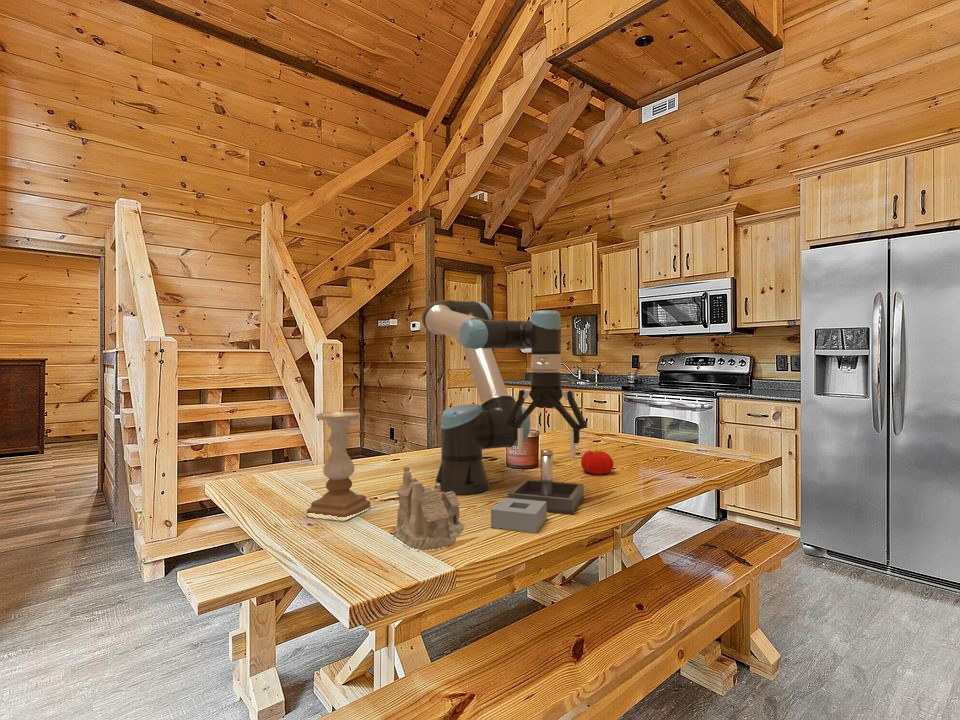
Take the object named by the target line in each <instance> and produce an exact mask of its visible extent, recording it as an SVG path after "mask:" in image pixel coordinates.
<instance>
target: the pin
mask: <svg viewBox="0 0 960 720" xmlns="http://www.w3.org/2000/svg"><path fill="white" fill-rule="evenodd" d="M553 452H554V451H553V449H550V448H548V449H547V448H546V449H543V448H542V449H541V450H540V480H541V496H550V497H553V482H554V479H553V477H554V475H553V473H554V472H553V471H554V470H553V469H554V467H553V466H554V465H553V462H554V461H553V459H554V458H553V454H554V453H553Z"/></svg>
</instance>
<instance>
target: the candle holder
mask: <svg viewBox="0 0 960 720" xmlns="http://www.w3.org/2000/svg"><path fill="white" fill-rule="evenodd" d="M315 416H316V419H317V420H320V421H325V422H326V425H327V426H328V427H329V429H330V436H329V437H328V439H327V443H329V446H330V448H331V452H330V454H329V456H328V458H327V460H326V461H325V463H324V465H323V469H322V471H323V475H324V476H325V477H326V478H327V479H328V480H327V481H326V484H325V488H326V490H327V492H326V493H324V494H323V495H322V496H321V497H319V498H318V499H316V500H313V501H312V502H311V506H310V507H309V508H307V509H306V514H307V513H315V514H323V515H331V516H337V517H347V516H350V515H353V514H356V513H359V512H361V511H363V510H365V509H367V508H369V507H370V508H371V501H370V500H368V499H367V496H366V495H363V494H357V493H355V492H354V491H353V490H351V488H352V486H353V481H352V480H351V479H350V477H351V476H352V475H353V474H354V472H355V464H354V462H353V460H352V459H351V457H350V456H349V454H348V452H347V446H348V445H349V442H350V440H351V439H350V437H349V436H348V435H347V428H348V426H350V423H351V420H356V419H359V418H360V417H361V413H360V412H357V411H330V412H322V413H317V414H316V415H315Z"/></svg>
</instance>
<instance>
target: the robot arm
mask: <svg viewBox="0 0 960 720" xmlns="http://www.w3.org/2000/svg"><path fill="white" fill-rule="evenodd" d="M421 322H422V323H421V324H422V325H423V327H424V329H425V330H426V331H427V332H429V333H431V334H433V335H437V336H447V337H451V338H453V339H455V340H456V342H457V344H459V345H460V346H463V347H462V348H463V351H464V353H465V356H466V359H467V363H468V366H469V369H470V371H471V375H472V378H473V381H474V384H475V388H476V391H477V394H478V397H479V401H480V403H481V404H478V403H470V404H461V405H455V406H451V407H447V408H446V409H445V410H443V411H442V414H441V419H440V437H441V438H440V439H441V441H440V442H441V443H440V445H441V447H440V448H441V450H440V451H441V453H440V454H441V461H440V465H439V468H438V471H437V475H436V477H435V484H436V483H440V485H441V486H440V489H441V492H445V493H447V492H451V491H453V492H454V493H455V494H456V496H457V495H462V496H463V495H464V496H465V495H474V494H479V493H484V492H485V491H488V489H489V488H490V487H489V486H490V484H489V483H490V482H489V477H488V474H487V472H486V468H485V465H484V462H483V450H490V449H491V450H492V449H499V448H500V449H501V448H513V447H516V446H517V454H518V455H519V454H520V455H521V454H522V453H524V443H525V442H526V441H527V439H528V437H529V435H530V430H531V419H530V418H531V417H530V415H531V414H532V413H533V411H534V410H535V409H537V408H539V409H544V408H546V409H553V408H554V409H555V410H556V411H558V412H559V414H560V415H561V416H562V417H563V419H564V420H565V421H566V422H567V424H568V425H569V426H570V427H571V430H570V434H569V435H570V436H569V437H570V439H569V442H570V443H569V445H570V447H569V448H570V450H569V451H570V454H569V455H570V456H569V457H570V458H574V457H576V444H577V445H578V444H579V443H580V431H581V430H584V429H585V428H587V426H588V425H587V424H588V423H587V422H586V420H585V418H584V416H583V413H582V412H581V409H580V407H579V405H578V404H577V402H576V400H575V392H574V391H573V390H568V391H563V390H562V374H561V372H560V371H561V370H562V354H561V353H562V352H561V351H562V324H561V323H562V321H561V313H560V312H559V311H557V310H550V309H549V310H545V309H544V310H534V311H533V312H532V313H531V317H530V320H501V319H500V320H495V319H493V315H492V311H491V309H490V307H489V306H488V305H487V304H486V303H484V302H480V301H475V300H469V301H467V300H466V301H465V300H449V299H448V300H447V299H442V300H441V299H440V300H436V301H433V302H431V303H429V304H428V305H426V306H425V308H424V309H423V312H422V313H421ZM493 349H501V350H502V349H505V350H506V349H509V350H510V349H512V350H513V349H515V350H526V349H530V351H531V352H530V353H531V355H530V356H531V357H530V360H531V361H530V367H531V368H530V369H531V371H532V372H531V374H530V378H531V379H530V383H531V384H530V385H531V386H530V387H531V388H530V390H526V389H520V390H519V391H518V398H517V400H516V399H515V397H514V396H512V395H510V394H508V391H507V388H506V385H505V383H504V380H503V377H502V374H501V372H500V369H499V365H498V363H497V360H496V357H495V355H494V350H493ZM528 397H530V398H531V400H532V402H531V403H530V404H529V406H528V407H527V408H526V407H525V406H523V405H524V402H525V401H526V399H528ZM563 397H564V399H565V400H566V401H567V402H568V404H569V406H570V408H571V410H572V412H573V415H574V416H575V419H576V420H577V421H576V420H575V419H574V417H572V415H571V414H570V413H569V411H568V410H567V409H566V408H565V406H564V404H562V402H561V400H562V398H563ZM435 484H434V485H435Z"/></svg>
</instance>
